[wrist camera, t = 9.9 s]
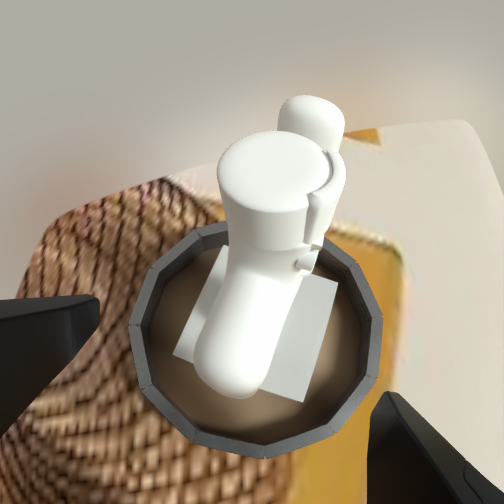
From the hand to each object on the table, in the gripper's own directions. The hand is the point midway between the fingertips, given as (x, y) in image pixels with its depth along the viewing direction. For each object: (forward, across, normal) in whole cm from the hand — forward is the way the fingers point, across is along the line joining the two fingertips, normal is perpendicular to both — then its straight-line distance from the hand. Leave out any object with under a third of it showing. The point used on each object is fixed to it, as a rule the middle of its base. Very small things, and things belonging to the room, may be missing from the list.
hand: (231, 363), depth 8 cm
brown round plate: (+11, 0, +6) cm, 13 cm away
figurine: (+11, 0, +5) cm, 12 cm away
